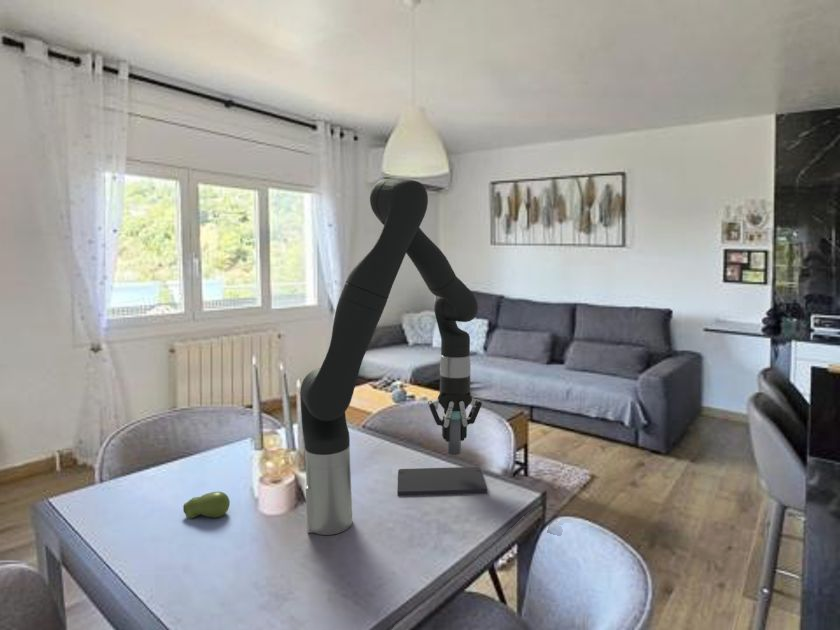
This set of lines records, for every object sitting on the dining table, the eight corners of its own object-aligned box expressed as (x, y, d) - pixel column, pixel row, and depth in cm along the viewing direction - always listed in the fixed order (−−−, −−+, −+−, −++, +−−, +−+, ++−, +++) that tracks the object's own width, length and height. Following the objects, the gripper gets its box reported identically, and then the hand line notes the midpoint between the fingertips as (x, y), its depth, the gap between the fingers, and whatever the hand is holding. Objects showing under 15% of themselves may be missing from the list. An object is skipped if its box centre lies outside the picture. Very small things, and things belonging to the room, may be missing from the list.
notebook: (397, 497, 124) (487, 495, 124) (397, 491, 124) (487, 489, 124) (398, 474, 136) (479, 472, 137) (398, 468, 136) (479, 466, 137)
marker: (448, 455, 130) (449, 412, 128) (445, 449, 133) (446, 407, 132) (462, 454, 130) (463, 411, 129) (459, 449, 134) (460, 407, 132)
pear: (219, 497, 112) (175, 503, 113) (224, 520, 113) (181, 526, 114) (230, 485, 118) (189, 491, 119) (236, 507, 118) (195, 513, 119)
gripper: (429, 377, 124) (429, 447, 127) (487, 375, 127) (485, 444, 129) (424, 370, 132) (424, 436, 134) (478, 368, 134) (477, 433, 136)
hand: (454, 439), depth 131 cm, fingers closed on marker, 3 cm apart
